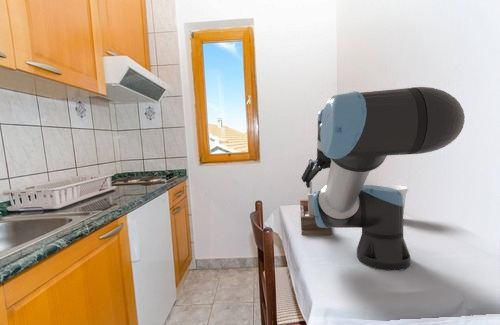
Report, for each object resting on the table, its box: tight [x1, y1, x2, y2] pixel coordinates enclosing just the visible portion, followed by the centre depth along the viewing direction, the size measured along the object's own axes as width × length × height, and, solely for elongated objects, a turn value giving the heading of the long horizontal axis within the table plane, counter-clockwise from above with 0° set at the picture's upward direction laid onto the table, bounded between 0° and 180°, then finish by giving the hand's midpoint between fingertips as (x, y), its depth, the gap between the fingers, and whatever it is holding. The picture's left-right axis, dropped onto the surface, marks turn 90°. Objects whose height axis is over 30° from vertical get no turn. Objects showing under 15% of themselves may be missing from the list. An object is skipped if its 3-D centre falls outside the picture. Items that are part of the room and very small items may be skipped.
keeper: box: [305, 192, 315, 216], centre depth 111 cm, size 6×8×14 cm
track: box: [299, 199, 332, 236], centre depth 122 cm, size 36×12×7 cm, turn 169°
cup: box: [380, 184, 409, 216], centre depth 118 cm, size 12×12×15 cm
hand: (325, 189), depth 111 cm, fingers open, 13 cm apart
